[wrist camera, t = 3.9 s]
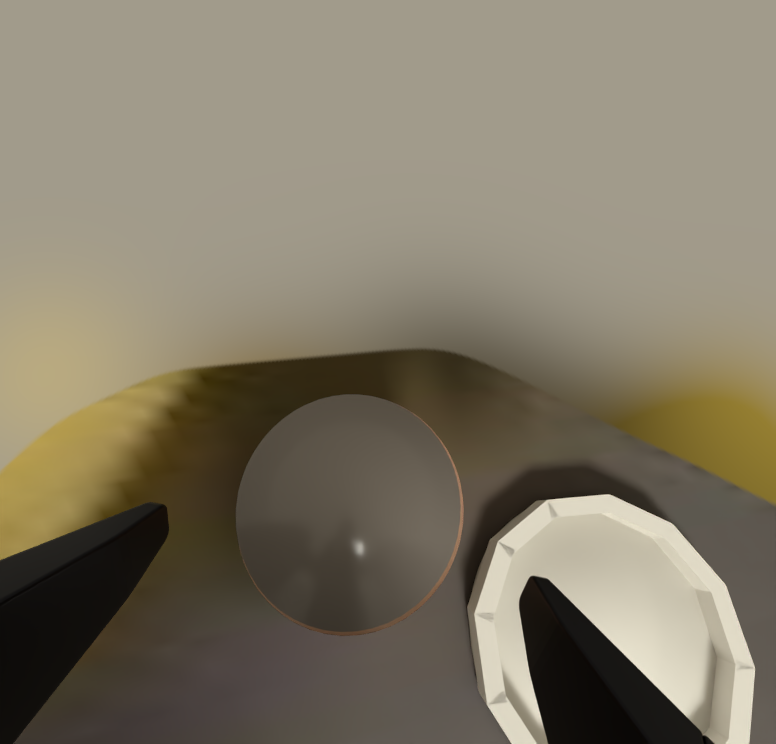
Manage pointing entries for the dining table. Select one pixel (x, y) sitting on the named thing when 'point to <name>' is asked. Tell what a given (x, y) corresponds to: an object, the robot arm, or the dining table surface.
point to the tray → (612, 612)
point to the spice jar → (349, 514)
